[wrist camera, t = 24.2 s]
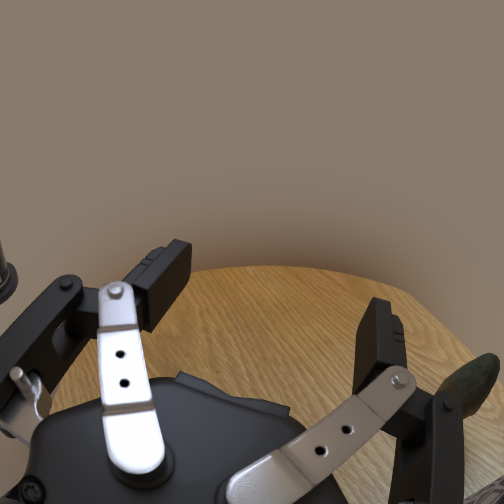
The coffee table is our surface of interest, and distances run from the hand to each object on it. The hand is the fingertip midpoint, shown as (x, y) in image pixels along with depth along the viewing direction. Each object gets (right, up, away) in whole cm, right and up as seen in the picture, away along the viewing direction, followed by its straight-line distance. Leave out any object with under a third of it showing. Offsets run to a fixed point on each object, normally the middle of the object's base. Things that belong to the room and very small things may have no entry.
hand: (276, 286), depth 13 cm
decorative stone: (+22, -22, +20) cm, 37 cm away
